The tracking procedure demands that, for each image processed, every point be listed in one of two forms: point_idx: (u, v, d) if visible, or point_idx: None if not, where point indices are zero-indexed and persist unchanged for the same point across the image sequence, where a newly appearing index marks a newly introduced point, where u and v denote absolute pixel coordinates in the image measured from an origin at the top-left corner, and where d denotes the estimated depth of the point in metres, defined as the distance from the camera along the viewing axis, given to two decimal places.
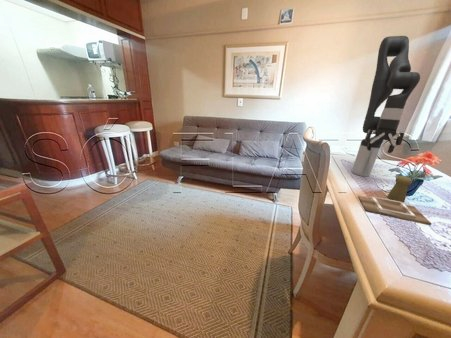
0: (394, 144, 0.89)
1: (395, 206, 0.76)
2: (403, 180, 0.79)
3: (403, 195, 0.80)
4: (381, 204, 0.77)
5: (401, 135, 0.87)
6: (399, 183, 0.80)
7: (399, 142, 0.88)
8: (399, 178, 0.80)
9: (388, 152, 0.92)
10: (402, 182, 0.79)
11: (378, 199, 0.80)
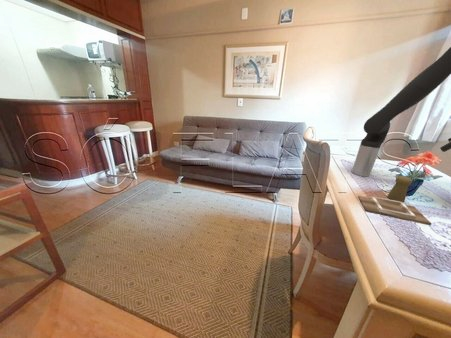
0: None
1: (395, 206, 0.76)
2: (403, 180, 0.79)
3: (403, 195, 0.80)
4: (381, 204, 0.77)
5: None
6: (399, 183, 0.80)
7: None
8: (399, 178, 0.80)
9: (443, 150, 0.77)
10: (402, 182, 0.79)
11: (378, 199, 0.80)
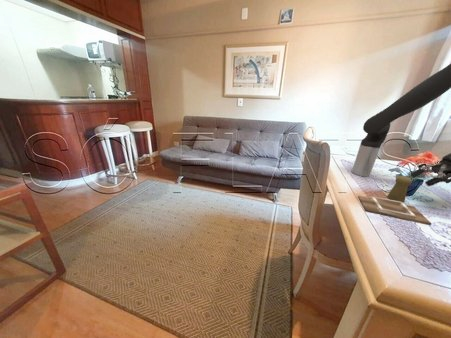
0: None
1: (395, 206, 0.76)
2: (403, 180, 0.79)
3: (403, 195, 0.80)
4: (381, 204, 0.77)
5: None
6: (399, 183, 0.80)
7: None
8: (399, 178, 0.80)
9: (412, 176, 0.83)
10: (402, 182, 0.79)
11: (378, 199, 0.80)
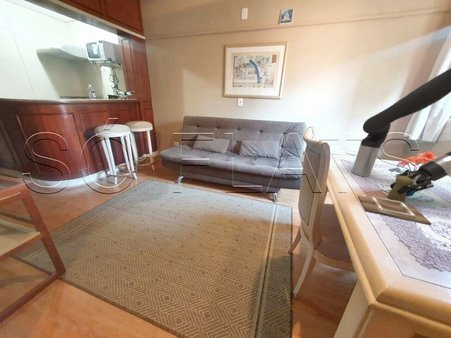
0: None
1: (395, 206, 0.76)
2: (403, 180, 0.79)
3: (403, 195, 0.80)
4: (381, 204, 0.77)
5: None
6: (399, 183, 0.80)
7: None
8: (399, 178, 0.80)
9: (392, 187, 0.84)
10: (402, 182, 0.79)
11: (378, 199, 0.80)
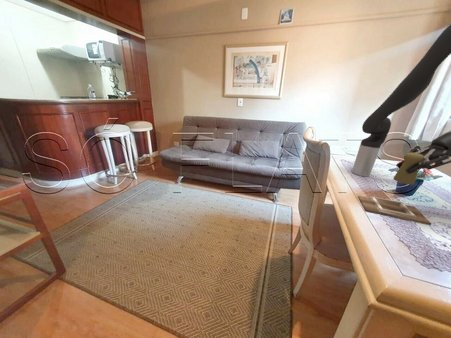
0: None
1: (395, 206, 0.76)
2: (413, 157, 0.65)
3: (413, 175, 0.67)
4: (381, 204, 0.77)
5: None
6: (408, 160, 0.67)
7: None
8: (408, 154, 0.67)
9: (399, 167, 0.71)
10: (412, 159, 0.66)
11: (378, 199, 0.80)
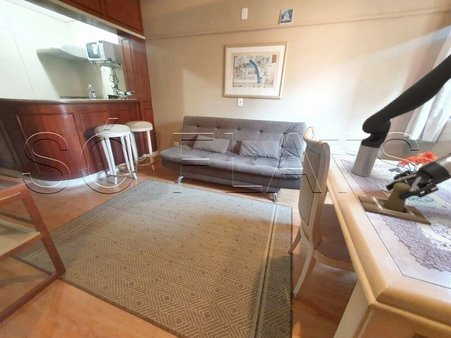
0: None
1: None
2: (401, 188, 0.70)
3: (401, 204, 0.71)
4: (381, 204, 0.77)
5: None
6: (397, 191, 0.71)
7: None
8: (397, 185, 0.71)
9: (388, 189, 0.76)
10: (400, 190, 0.70)
11: (378, 199, 0.80)
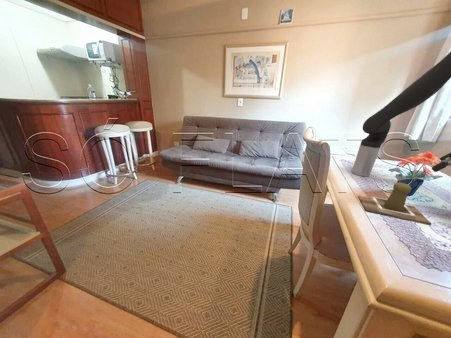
0: None
1: None
2: (401, 188, 0.70)
3: (401, 204, 0.71)
4: (381, 204, 0.77)
5: None
6: (397, 191, 0.71)
7: None
8: (397, 185, 0.71)
9: (434, 170, 0.71)
10: (400, 190, 0.70)
11: (378, 199, 0.80)
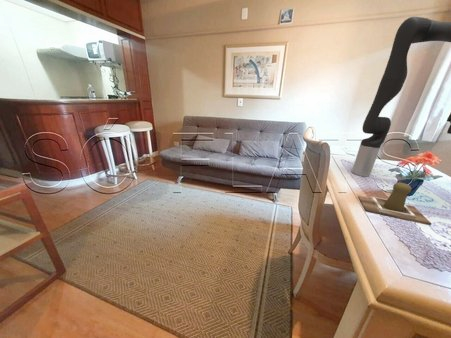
0: None
1: None
2: (401, 188, 0.70)
3: (401, 204, 0.71)
4: (381, 204, 0.77)
5: None
6: (397, 191, 0.71)
7: None
8: (397, 185, 0.71)
9: None
10: (400, 190, 0.70)
11: (378, 199, 0.80)
